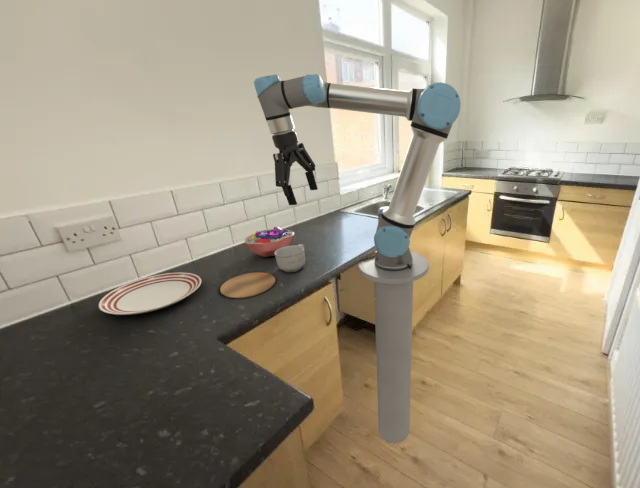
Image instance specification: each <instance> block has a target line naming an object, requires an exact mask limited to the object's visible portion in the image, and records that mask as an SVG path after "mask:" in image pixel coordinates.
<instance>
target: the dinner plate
mask: <svg viewBox="0 0 640 488" xmlns="http://www.w3.org/2000/svg"><path fill="white" fill-rule="evenodd" d="M201 284H202V278H201V277H200V276H199V275H197V274H195V273H192V272H167V273H159V274H156V275H151V276H146V277H143V278H139V279H135V280H133V281H130V282H128V283H125V284H123V285H121V286H118V287H117V288H115V289H113V290H111V291H110V292H108V293H107V294H105V295H104V296H103V297H102V298H101V299H100V301H99V302H98V309H99V311H101V312H103V313H105V314H109V315H115V316H132V315H141V314H146V313H150V312H154V311H158V310H159V311H160V310H161V309H164V308H168V307H170V306H173V305H175V304H177V303H179V302H180V301H183V300H184V299H186V298H188V297H189V296H191V295H192V294H193V293H194V292H196V291H197V290H198V289H199V288H200V286H201Z"/></svg>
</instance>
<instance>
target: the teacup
mask: <svg viewBox="0 0 640 488" xmlns="http://www.w3.org/2000/svg"><path fill="white" fill-rule="evenodd" d="M274 254H275V256H274V257H275V260H276V265H277V267H278V269H280V270H281V271H284V272H286V273H294V272H298V271H300V270H301V269H302V268H303V267H304V266H305V264H306V256H305V255H306V254H305V245H304V244H302V243H299V244H297V245H296V244H293V245H289V246H286V247H282V248H280V249H278V250H276V251H275V253H274Z"/></svg>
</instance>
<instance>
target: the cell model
mask: <svg viewBox="0 0 640 488" xmlns="http://www.w3.org/2000/svg"><path fill="white" fill-rule="evenodd" d="M294 236H295V232H294V231H293V230H289V229H284V228H281V227H279V226H274V227H273V228H271V229H263V230H258V231H256V232H254V233H251V234H250V235H248V236H247V237H245V238H244V244H245V245H246V247H247V248H248V250H250V251H251V252H252V253H253V254H254V255H257V256H260V257H263V258H269V257H275V254H274V253H275V251H276V250H278V249H280V248H282V247H286V246H291V244H292V242H293V239H294Z"/></svg>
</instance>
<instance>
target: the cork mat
mask: <svg viewBox="0 0 640 488" xmlns="http://www.w3.org/2000/svg"><path fill="white" fill-rule="evenodd" d="M275 284H276V277H275V276H274V275H273V274H271V273H269V272H263V271H262V272H261V271H259V272H258V271H255V272H247V273H242V274H239V275H235V276H233V277H231V278H229V279H228V280H226V281H225V282H223V283H222V284H221V286H220V287H219V288H220V289H219V290H220V291H219V292H220V293H221V295H222V296H224V297H226V298H229V299H230V298H231V299H244V298H251V297H256V296H259V295H260V294H264V293H265V292H267V291H268V290H270V289H271V288H273V287H274V286H275Z"/></svg>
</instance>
